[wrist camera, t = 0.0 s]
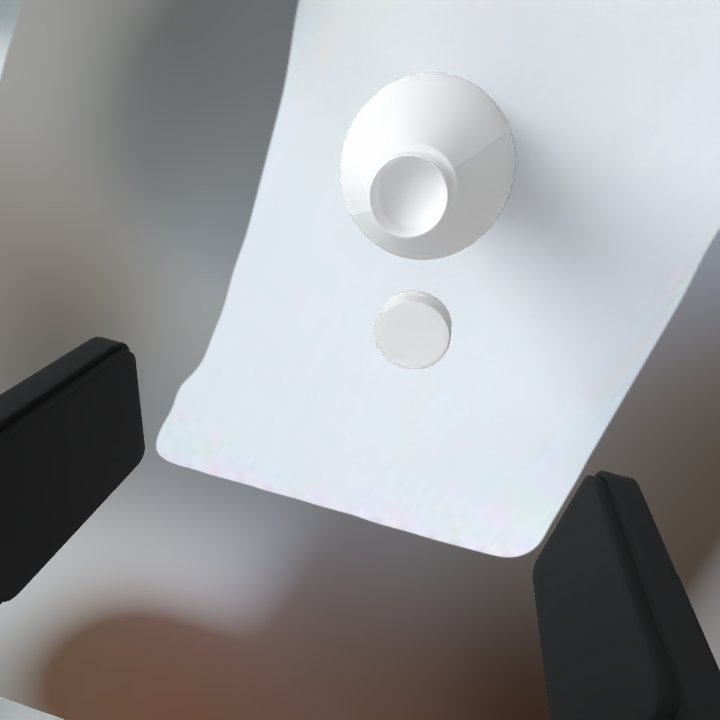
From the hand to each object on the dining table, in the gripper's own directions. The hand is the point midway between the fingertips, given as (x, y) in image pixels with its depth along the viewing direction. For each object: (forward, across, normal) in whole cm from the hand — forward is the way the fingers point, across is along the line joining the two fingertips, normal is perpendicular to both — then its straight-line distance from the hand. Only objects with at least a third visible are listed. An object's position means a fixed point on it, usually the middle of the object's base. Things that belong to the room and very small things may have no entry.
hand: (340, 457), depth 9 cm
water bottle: (+31, 0, -3) cm, 32 cm away
